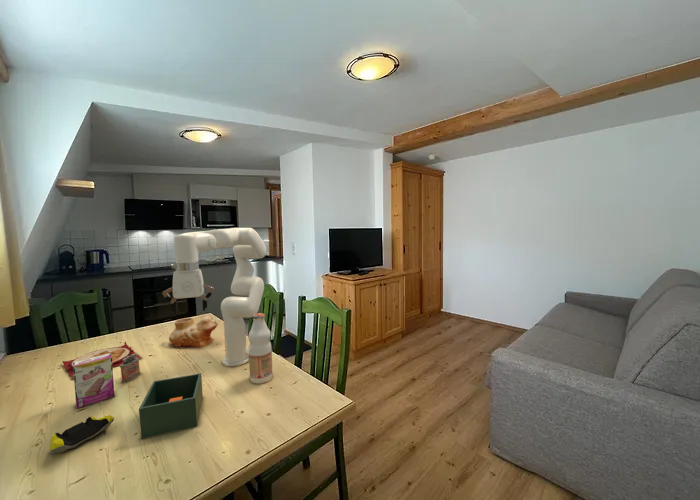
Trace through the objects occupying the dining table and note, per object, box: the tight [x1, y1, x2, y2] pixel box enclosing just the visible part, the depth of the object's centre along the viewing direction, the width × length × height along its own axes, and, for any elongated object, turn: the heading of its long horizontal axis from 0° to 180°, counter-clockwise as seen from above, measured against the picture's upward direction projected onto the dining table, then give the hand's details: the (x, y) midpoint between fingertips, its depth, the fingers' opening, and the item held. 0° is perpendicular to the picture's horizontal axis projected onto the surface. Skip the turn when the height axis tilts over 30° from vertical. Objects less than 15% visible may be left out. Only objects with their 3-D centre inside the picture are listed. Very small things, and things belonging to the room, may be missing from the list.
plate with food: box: [61, 341, 142, 379], centre depth 146 cm, size 24×26×3 cm
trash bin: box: [138, 372, 204, 440], centre depth 103 cm, size 16×18×10 cm
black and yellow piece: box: [49, 414, 115, 454], centre depth 92 cm, size 15×6×10 cm
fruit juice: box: [247, 312, 274, 385], centre depth 127 cm, size 9×9×28 cm
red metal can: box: [119, 352, 141, 384], centre depth 130 cm, size 8×3×10 cm, turn 168°
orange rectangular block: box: [169, 396, 183, 402], centre depth 103 cm, size 4×7×4 cm, turn 21°
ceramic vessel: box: [168, 315, 219, 349], centre depth 167 cm, size 14×26×15 cm, turn 89°
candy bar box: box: [73, 353, 115, 410], centre depth 113 cm, size 11×5×16 cm, turn 135°
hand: (190, 311), depth 114 cm, fingers open, 9 cm apart
